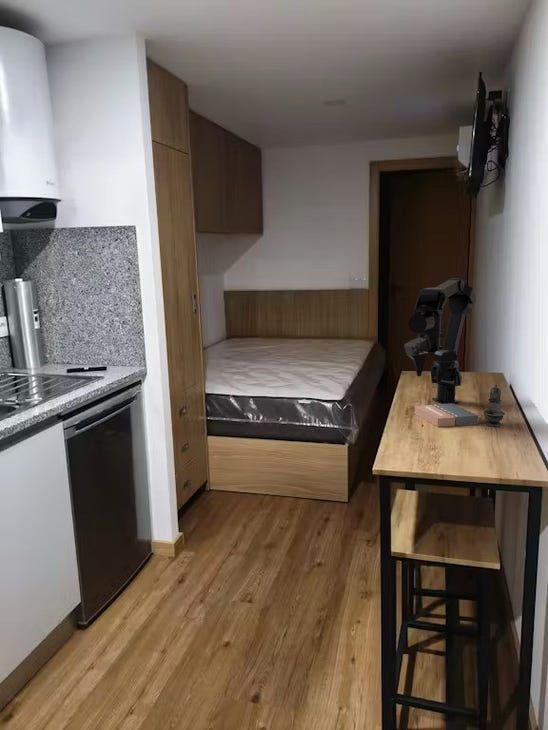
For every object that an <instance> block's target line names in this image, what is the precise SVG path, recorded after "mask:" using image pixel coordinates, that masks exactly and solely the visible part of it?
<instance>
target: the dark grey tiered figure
mask: <svg viewBox="0 0 548 730" xmlns="http://www.w3.org/2000/svg"><path fill="white" fill-rule="evenodd" d="M501 393H502V390H501V389H500V388H499V387H498V385H497V384H495V385H494V387H492V388H491V389H490V393H489V394H490V395H489V398H488V401H489V402H488V408H487V409H485V410H483V416H484V419H485V420H486V421H484V422H483V425H484V426H486V427H490V426H493V427H492V428H501V426H502V427H503V426H504V424H503V423H501V421H502V420H503V419H504V416H505V415H506V413H505V412H504V411H502V410H501V402H502V399H501V395H502V394H501Z"/></svg>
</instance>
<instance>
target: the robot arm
mask: <svg viewBox="0 0 548 730" xmlns="http://www.w3.org/2000/svg"><path fill="white" fill-rule="evenodd" d="M476 295H477V294H476V292H475V289H474V288H473V287H472V286H470V285H469V284H467V283H466V282H465V280H464V279H462V278H453V277H452V278H448V279H447V280H446V281H445V282H443V283H441V284H439V285H438V286H435V287H423V288H422V289H421V290H420V292H419V293H418V296H417V299H416V302H415V305H414V308H413V311H414V314H413V315H412V316H411V317H410V318H409V319H408V322H407V323H408V328H409V329H410V331H411V332H412V333H414V334H417V336H416V338H414V339H411V340H409V341H408V342H406V343H404V346H403V353H405V354H406V356H408V357H409V358H410V359H411V360H412V363H413V366H414V369H415V372H416V376H417V377H421V376H422V373H423V370H424V366H425V361H426V357H427V355H428V356H433V360H432V366H431V368H430V378H431V379H430V380H431V384H436V397H433V398H432V400H433V402H436V403H438V404H451V403H453V404H459V400H456V387H460V386H461V385H462V381H463V377H462V375H461V371H460V370H459V367H460V364H459V361H458V358H459V357H458V350H459V344H460V339H461V337H462V336H461V335H462V332H463V327H464V323H465V318H466V316H467V315H468V314H470V312H472V310H473V307H474V305H475V302H476V299H477V296H476ZM446 304H447V305H448V308H449V311H450V314H449V315H450V316H449V319H448V324H447V328H446V332H445V336H444V332H441V331H442V330H441V329H442V327H441V326H442V314H444V312H443V310H444V308H445V305H446ZM441 337H444V341H443V345H441Z"/></svg>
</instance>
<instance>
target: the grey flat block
mask: <svg viewBox="0 0 548 730" xmlns="http://www.w3.org/2000/svg"><path fill="white" fill-rule="evenodd" d="M431 405H432V406H434V407H436V408H438V409H440V410H442V411H444V412H446V413H448V414H450V415H452V416H454V417H455V426H464V425H465V426H467V425H477V424H478V421H479V420H478V419H479V415H478V414H476V413H473V412H472V411H469V410H467V409H465V408H463V407H461V406H460V405H457V404H456V403H449V404H441V403H436V404H431Z"/></svg>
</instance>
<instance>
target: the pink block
mask: <svg viewBox="0 0 548 730" xmlns="http://www.w3.org/2000/svg"><path fill="white" fill-rule="evenodd" d="M432 405H433V404H427V405H425V404H423V405H414V415H416V416H417V417H420V418H421V419H423V420H425V421H426V422H428V423H430V424H432V425H433V426H435V427H437V428H438V427H439V428H441V427H453V426H456V425H455V417H454V416H452V415H450V414H448V413H446V412H444V411H442V410H440V409H438V408H436V407H434V406H432Z"/></svg>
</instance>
